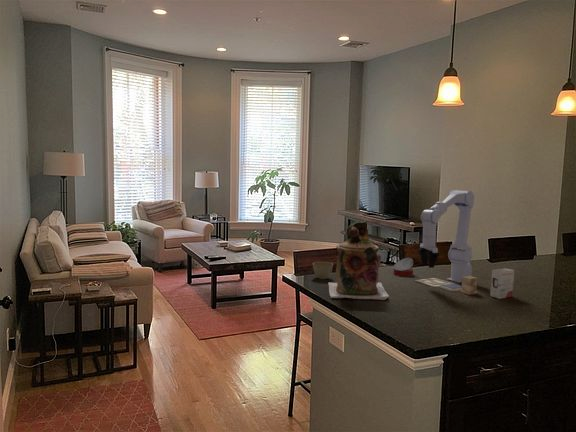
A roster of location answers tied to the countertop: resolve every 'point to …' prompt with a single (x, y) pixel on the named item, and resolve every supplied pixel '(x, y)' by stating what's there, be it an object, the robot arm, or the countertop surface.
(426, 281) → the marked board
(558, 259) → the countertop surface
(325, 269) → the flower pot
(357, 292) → the cookie jar
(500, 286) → the ink box
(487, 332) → the countertop surface
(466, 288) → the stamp
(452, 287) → the ink pad
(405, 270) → the canned food
